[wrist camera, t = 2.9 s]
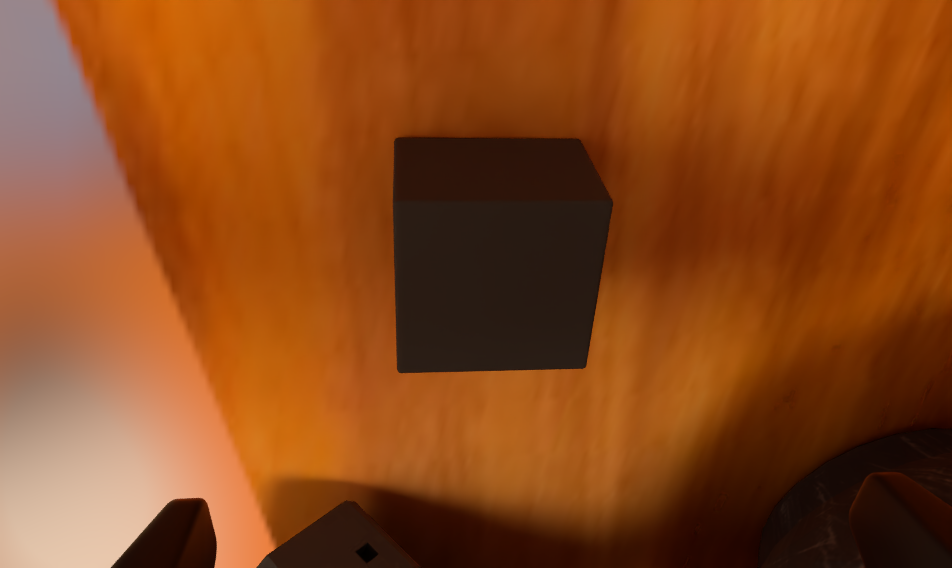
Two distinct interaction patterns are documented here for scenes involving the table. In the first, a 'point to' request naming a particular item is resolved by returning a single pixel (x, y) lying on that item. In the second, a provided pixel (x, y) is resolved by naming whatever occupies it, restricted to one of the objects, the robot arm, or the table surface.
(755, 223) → the table surface
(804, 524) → the bowl
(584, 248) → the black block
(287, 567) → the geiger counter
